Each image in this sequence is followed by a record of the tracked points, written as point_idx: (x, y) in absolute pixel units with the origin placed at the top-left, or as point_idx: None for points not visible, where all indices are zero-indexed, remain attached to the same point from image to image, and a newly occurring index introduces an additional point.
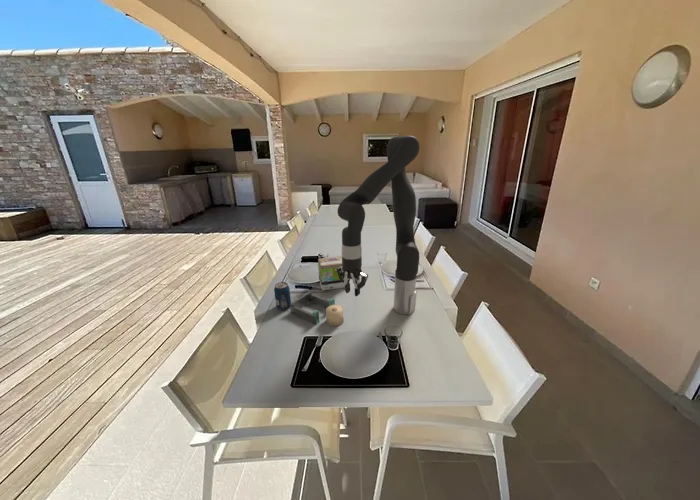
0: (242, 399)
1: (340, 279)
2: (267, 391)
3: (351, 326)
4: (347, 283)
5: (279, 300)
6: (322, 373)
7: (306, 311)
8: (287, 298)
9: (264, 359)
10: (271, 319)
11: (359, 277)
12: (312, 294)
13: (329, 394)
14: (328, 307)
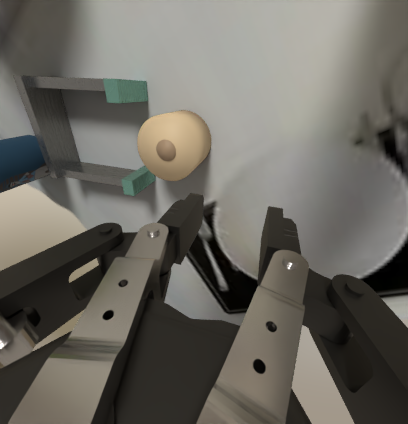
0: None
1: (100, 279)
2: None
3: (245, 138)
4: (171, 263)
5: (25, 183)
6: None
7: (104, 178)
8: (26, 168)
9: None
10: (72, 204)
11: (295, 348)
12: (35, 80)
13: None
14: (141, 149)
